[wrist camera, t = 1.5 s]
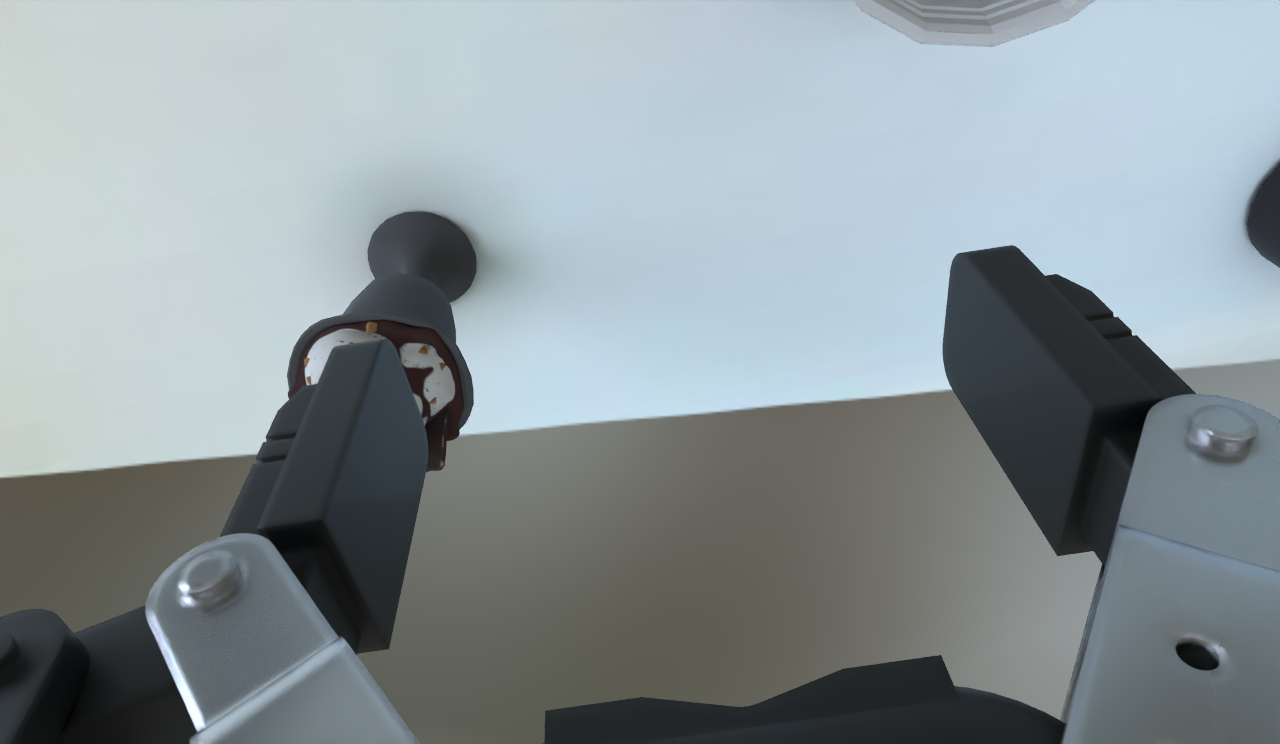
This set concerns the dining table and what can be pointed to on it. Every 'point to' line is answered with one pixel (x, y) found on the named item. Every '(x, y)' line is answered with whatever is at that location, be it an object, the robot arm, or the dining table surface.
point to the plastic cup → (970, 18)
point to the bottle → (1267, 219)
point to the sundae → (407, 321)
